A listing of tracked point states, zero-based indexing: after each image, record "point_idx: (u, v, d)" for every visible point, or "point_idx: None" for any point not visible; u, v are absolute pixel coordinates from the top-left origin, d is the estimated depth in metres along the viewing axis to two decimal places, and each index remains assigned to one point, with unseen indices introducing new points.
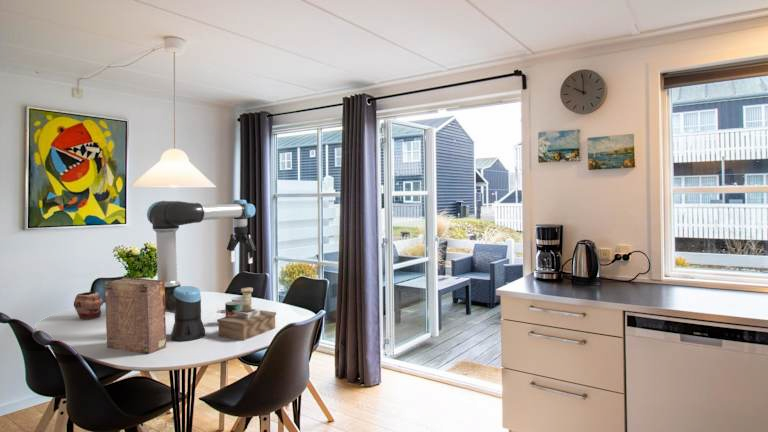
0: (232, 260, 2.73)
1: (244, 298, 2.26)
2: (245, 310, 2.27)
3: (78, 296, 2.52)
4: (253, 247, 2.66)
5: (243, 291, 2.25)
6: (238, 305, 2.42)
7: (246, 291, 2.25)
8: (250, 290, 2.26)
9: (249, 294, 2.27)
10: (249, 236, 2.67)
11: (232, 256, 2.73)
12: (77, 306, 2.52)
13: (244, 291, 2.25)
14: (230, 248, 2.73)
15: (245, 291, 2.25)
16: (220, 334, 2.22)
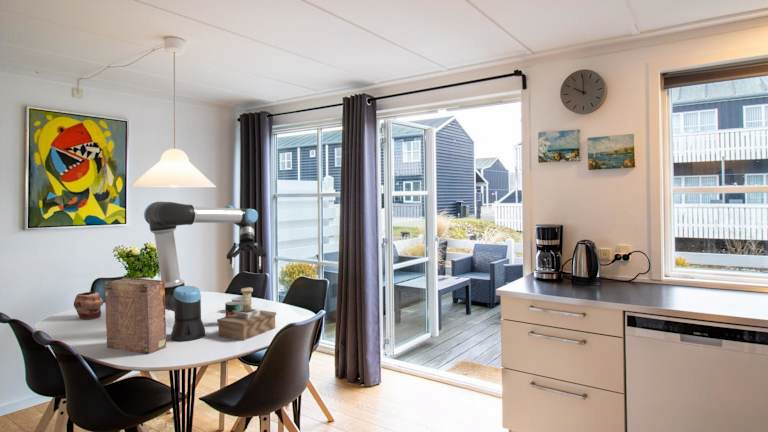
0: (233, 266, 2.40)
1: (244, 298, 2.26)
2: (245, 310, 2.27)
3: (78, 296, 2.52)
4: None
5: (243, 291, 2.25)
6: (238, 305, 2.42)
7: (246, 291, 2.25)
8: (250, 290, 2.26)
9: (249, 294, 2.27)
10: (259, 244, 2.53)
11: (233, 263, 2.42)
12: (77, 306, 2.52)
13: (244, 291, 2.25)
14: (232, 254, 2.44)
15: (245, 291, 2.25)
16: (220, 334, 2.22)
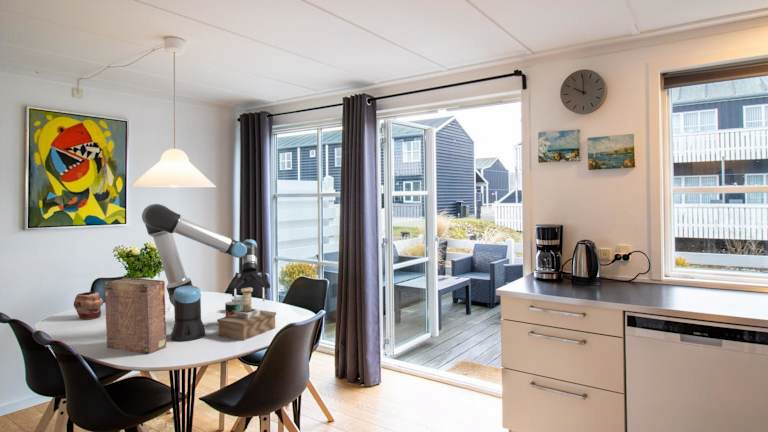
0: (235, 299, 2.28)
1: (244, 298, 2.27)
2: (245, 310, 2.27)
3: (78, 296, 2.52)
4: None
5: (243, 291, 2.26)
6: (238, 305, 2.42)
7: (246, 291, 2.25)
8: (250, 290, 2.27)
9: (249, 294, 2.27)
10: None
11: None
12: (77, 306, 2.52)
13: (244, 291, 2.25)
14: (234, 286, 2.32)
15: (245, 291, 2.25)
16: (220, 334, 2.22)
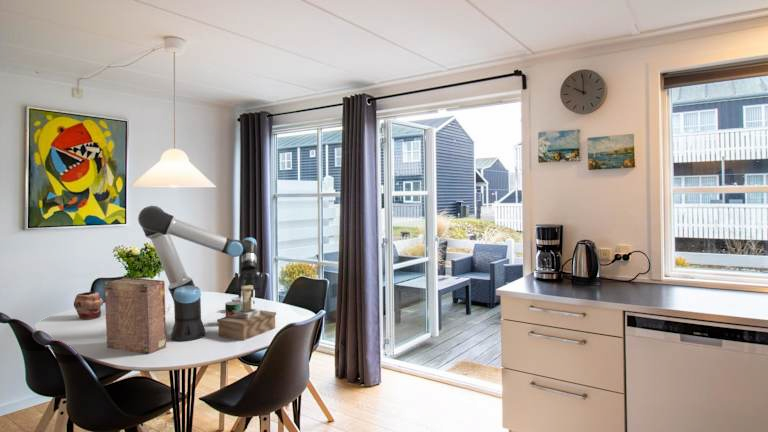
0: (242, 300, 2.25)
1: (244, 296, 2.26)
2: (245, 307, 2.26)
3: (78, 296, 2.52)
4: None
5: (243, 288, 2.25)
6: (238, 305, 2.42)
7: (246, 289, 2.25)
8: (250, 288, 2.26)
9: (249, 292, 2.27)
10: (261, 274, 2.37)
11: (242, 296, 2.26)
12: (77, 306, 2.52)
13: (244, 289, 2.25)
14: (240, 287, 2.29)
15: (245, 289, 2.25)
16: (220, 334, 2.22)
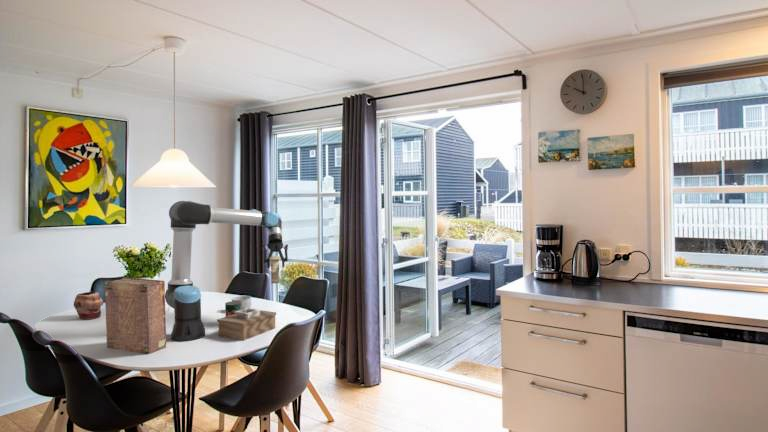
0: None
1: (272, 266, 2.42)
2: (274, 277, 2.42)
3: (78, 296, 2.52)
4: None
5: (272, 259, 2.41)
6: (238, 305, 2.42)
7: (274, 259, 2.41)
8: (278, 258, 2.42)
9: (277, 262, 2.43)
10: (287, 247, 2.52)
11: None
12: (77, 306, 2.52)
13: (272, 259, 2.41)
14: (268, 258, 2.44)
15: (273, 259, 2.41)
16: (220, 334, 2.22)
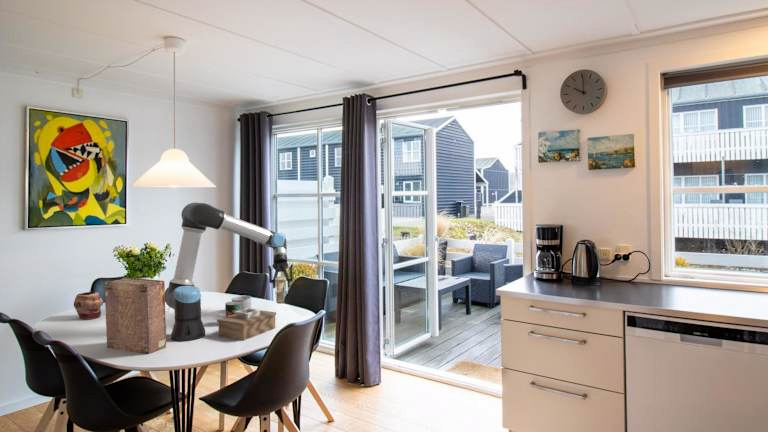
0: (276, 290, 2.44)
1: (278, 286, 2.46)
2: (279, 297, 2.46)
3: (78, 296, 2.52)
4: (292, 277, 2.52)
5: (277, 280, 2.45)
6: (238, 305, 2.42)
7: (280, 280, 2.45)
8: (283, 279, 2.46)
9: (282, 283, 2.46)
10: (292, 267, 2.56)
11: (276, 287, 2.46)
12: (77, 306, 2.52)
13: (278, 280, 2.45)
14: (274, 278, 2.48)
15: (279, 280, 2.45)
16: (220, 334, 2.22)
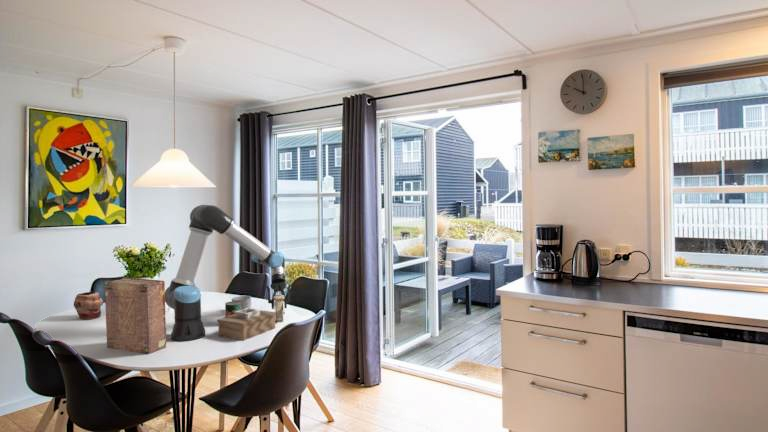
0: None
1: (276, 305, 2.46)
2: (278, 316, 2.46)
3: (78, 296, 2.52)
4: (289, 297, 2.51)
5: (276, 298, 2.45)
6: (238, 305, 2.42)
7: (278, 298, 2.45)
8: (282, 297, 2.46)
9: (281, 301, 2.46)
10: (290, 287, 2.56)
11: None
12: (77, 306, 2.52)
13: (277, 298, 2.45)
14: (272, 299, 2.48)
15: (278, 298, 2.45)
16: (220, 334, 2.22)
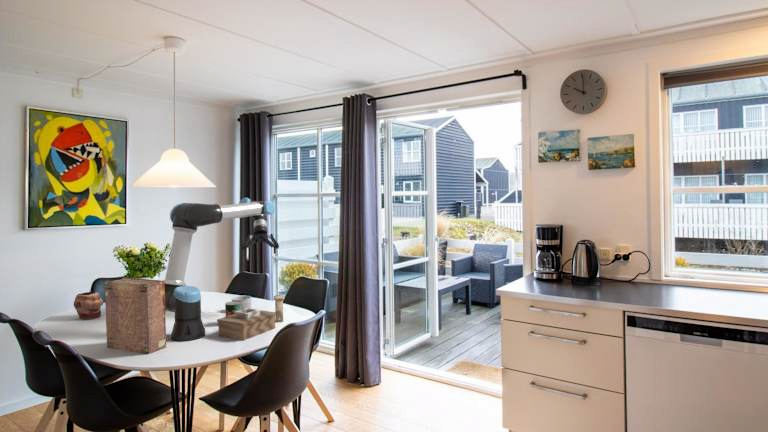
0: None
1: (276, 305, 2.46)
2: (278, 316, 2.46)
3: (78, 296, 2.52)
4: None
5: (276, 298, 2.45)
6: (238, 305, 2.42)
7: (278, 298, 2.45)
8: (282, 297, 2.46)
9: (281, 301, 2.46)
10: (272, 235, 2.67)
11: None
12: (77, 306, 2.52)
13: (277, 298, 2.45)
14: (247, 245, 2.58)
15: (277, 298, 2.45)
16: (220, 334, 2.22)
